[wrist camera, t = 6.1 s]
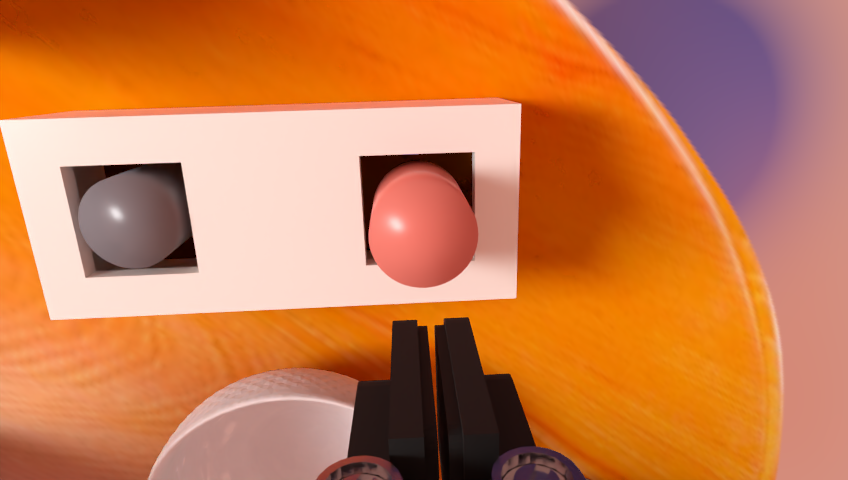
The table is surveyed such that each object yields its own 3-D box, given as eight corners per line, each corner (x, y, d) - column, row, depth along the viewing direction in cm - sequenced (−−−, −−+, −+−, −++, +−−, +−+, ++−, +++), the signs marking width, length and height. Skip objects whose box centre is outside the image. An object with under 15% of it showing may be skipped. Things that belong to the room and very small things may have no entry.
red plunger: (462, 246, 29) (478, 285, 23) (375, 249, 28) (371, 290, 23) (462, 159, 27) (478, 180, 22) (371, 162, 27) (364, 184, 22)
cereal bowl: (311, 573, 41) (295, 672, 34) (133, 445, 37) (76, 528, 30) (477, 440, 38) (495, 519, 32) (305, 285, 34) (283, 337, 27)
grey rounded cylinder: (219, 234, 32) (184, 266, 27) (139, 237, 32) (89, 270, 26) (207, 156, 31) (169, 174, 25) (124, 159, 30) (68, 178, 25)
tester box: (495, 260, 34) (516, 298, 29) (109, 277, 33) (50, 320, 28) (498, 97, 31) (521, 103, 26) (73, 110, 30) (-2, 120, 25)
